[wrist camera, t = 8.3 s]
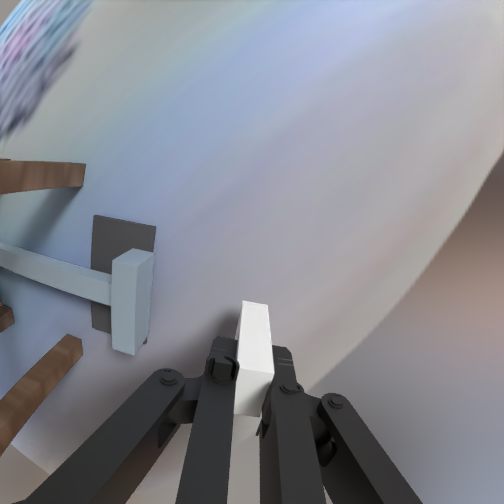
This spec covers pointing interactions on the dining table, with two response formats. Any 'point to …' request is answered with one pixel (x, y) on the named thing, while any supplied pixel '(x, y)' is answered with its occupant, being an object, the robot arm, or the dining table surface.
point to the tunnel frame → (52, 363)
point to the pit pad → (114, 255)
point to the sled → (97, 287)
